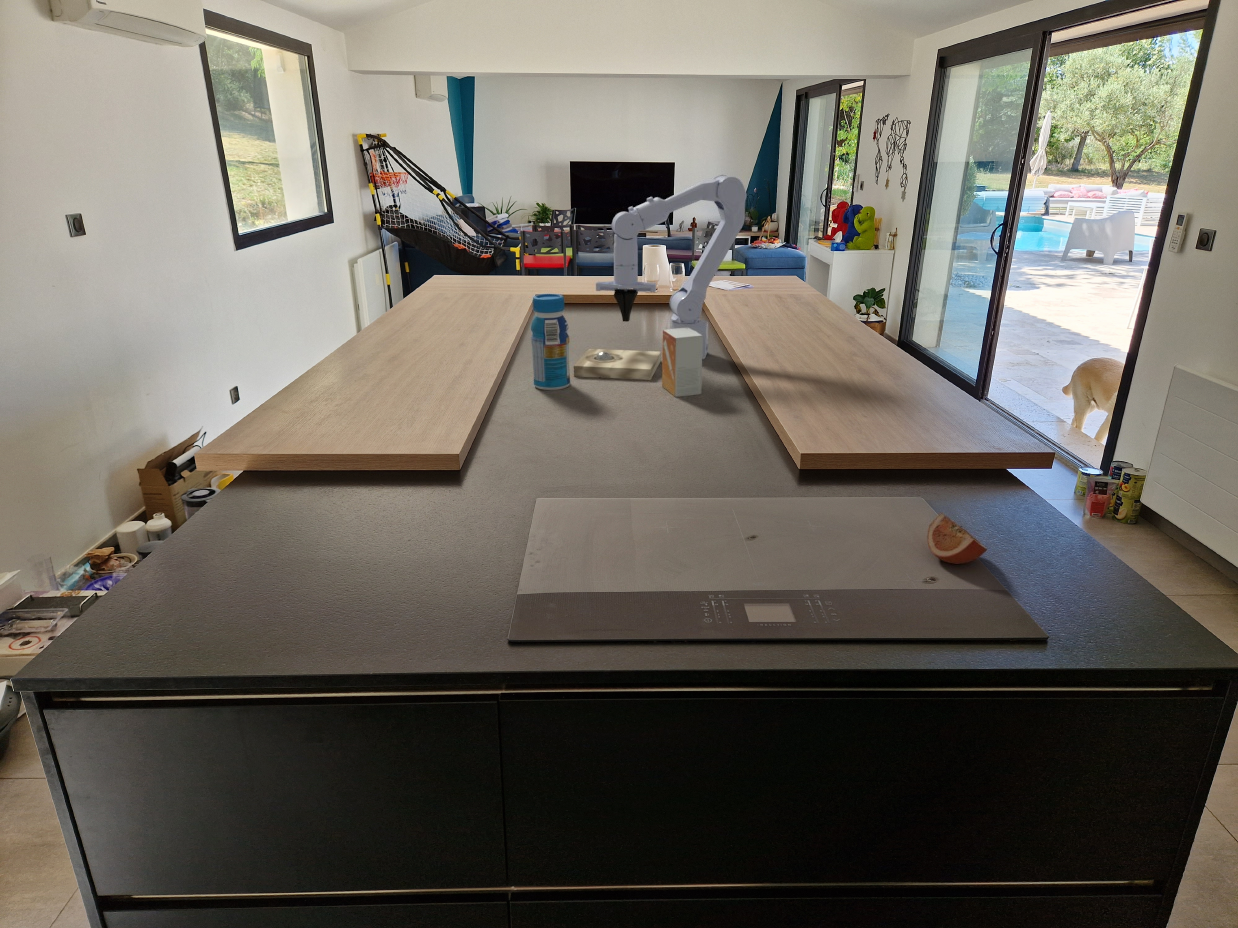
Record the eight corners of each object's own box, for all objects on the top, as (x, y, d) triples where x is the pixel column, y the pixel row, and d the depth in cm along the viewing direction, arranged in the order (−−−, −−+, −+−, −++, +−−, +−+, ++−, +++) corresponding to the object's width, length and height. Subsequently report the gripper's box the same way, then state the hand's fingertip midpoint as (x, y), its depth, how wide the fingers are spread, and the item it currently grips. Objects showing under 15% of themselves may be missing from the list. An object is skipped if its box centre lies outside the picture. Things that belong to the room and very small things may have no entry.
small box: (661, 387, 180) (662, 329, 175) (688, 384, 182) (689, 327, 177) (674, 397, 173) (675, 337, 168) (702, 394, 175) (703, 335, 170)
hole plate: (660, 361, 200) (660, 351, 199) (650, 379, 186) (650, 369, 185) (589, 358, 203) (589, 348, 202) (573, 376, 189) (573, 365, 188)
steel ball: (593, 349, 194) (592, 364, 196) (598, 358, 191) (597, 372, 193) (609, 347, 195) (608, 362, 198) (614, 356, 192) (613, 370, 195)
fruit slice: (915, 545, 111) (920, 512, 109) (961, 542, 112) (967, 509, 110) (945, 576, 104) (950, 541, 102) (994, 572, 104) (1001, 537, 102)
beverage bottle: (525, 388, 181) (520, 298, 173) (546, 378, 187) (542, 291, 180) (558, 393, 177) (554, 301, 169) (577, 383, 184) (575, 294, 176)
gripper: (592, 266, 192) (593, 323, 198) (653, 267, 190) (652, 325, 195) (599, 262, 199) (600, 317, 204) (657, 263, 196) (657, 319, 201)
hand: (626, 320), depth 200 cm, fingers closed
